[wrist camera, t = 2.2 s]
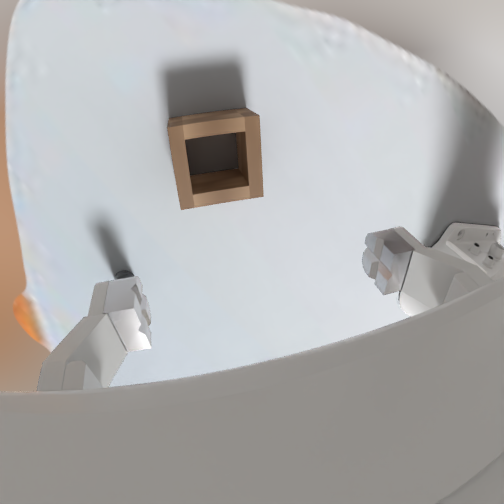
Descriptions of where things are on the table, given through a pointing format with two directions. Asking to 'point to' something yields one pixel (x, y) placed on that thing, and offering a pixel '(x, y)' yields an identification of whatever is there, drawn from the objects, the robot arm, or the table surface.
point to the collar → (220, 182)
